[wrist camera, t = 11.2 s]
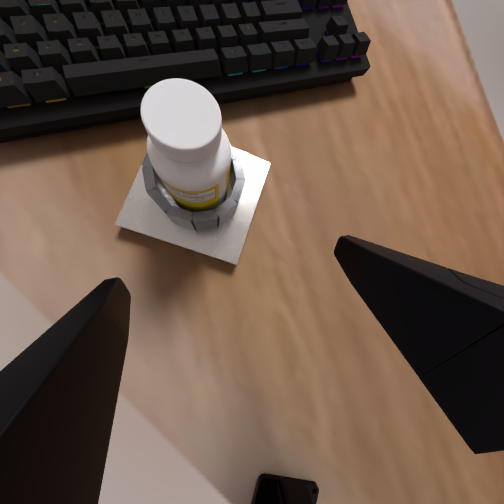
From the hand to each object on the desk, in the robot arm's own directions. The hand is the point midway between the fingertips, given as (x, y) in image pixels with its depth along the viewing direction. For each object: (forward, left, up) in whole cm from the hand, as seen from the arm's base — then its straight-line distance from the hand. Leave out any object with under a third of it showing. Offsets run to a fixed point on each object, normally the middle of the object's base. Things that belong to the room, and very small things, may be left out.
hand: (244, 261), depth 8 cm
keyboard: (+23, +12, -13) cm, 29 cm away
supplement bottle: (+6, +5, -12) cm, 14 cm away
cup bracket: (+7, +5, -13) cm, 15 cm away
